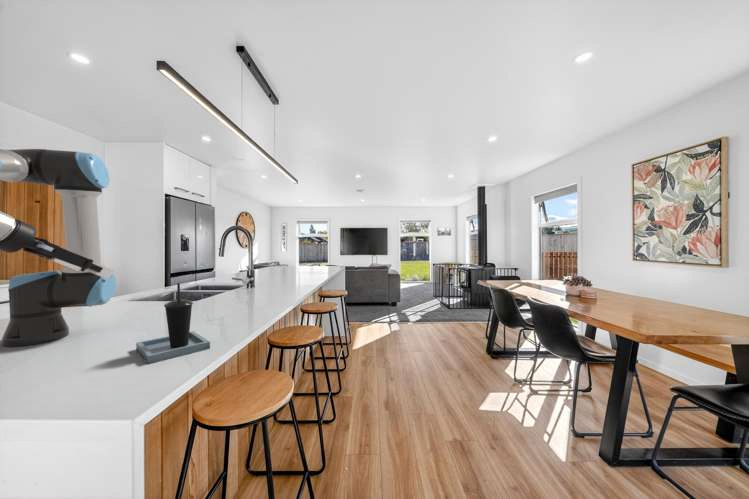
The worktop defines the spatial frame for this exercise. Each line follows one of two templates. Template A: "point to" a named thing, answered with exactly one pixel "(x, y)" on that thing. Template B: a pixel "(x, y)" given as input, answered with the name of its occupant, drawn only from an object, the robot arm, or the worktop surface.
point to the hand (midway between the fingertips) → (95, 270)
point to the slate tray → (162, 350)
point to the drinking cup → (178, 320)
